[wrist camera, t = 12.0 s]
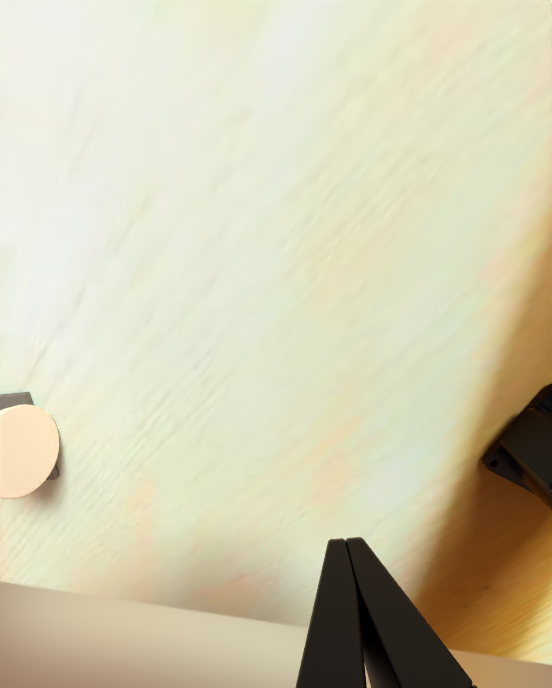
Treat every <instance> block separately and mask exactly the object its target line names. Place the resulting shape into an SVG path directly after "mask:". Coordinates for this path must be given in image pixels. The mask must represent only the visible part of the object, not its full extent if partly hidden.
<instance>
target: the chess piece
mask: <svg viewBox="0 0 552 688" xmlns="http://www.w3.org/2000/svg"><path fill="white" fill-rule="evenodd" d="M58 452H59V433H58V429H57V426H56V424H55V422H54V420H53V419H52V417H51V416H50V415H49V414H48V413H47V412H46V411H45V410H43V409H42V408H40V407H37V406H34V405H27V404H25V405H17V406H13V407H9V408H6V409H3V410H0V498H2V499H16V498H20V497H23V496H26V495H28V494H30V493H31V492H33V491H34V490H36V489H37V488H38V487H39V486H40V485H41V484H42V483H43V482H44V481H45V480H46V479H47V477H48V476H49V475H50V473H51V471H52V469H53V467H54V465H55V463H56V460H57V456H58Z"/></svg>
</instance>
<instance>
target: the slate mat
mask: <svg viewBox="0 0 552 688" xmlns="http://www.w3.org/2000/svg"><path fill="white" fill-rule="evenodd" d="M25 404H27V405H33V402H32V399H31V396H30V394H29V392H24V393H13V394H2V395H0V410H3V409H6V408H9V407H13V406H17V405H25ZM58 476H59V473H58V470H57V467H56V465H54V467H53V469H52V471H51V473H50V475H49V476H48V477H47V479H46V480H49V479H56V478H57V477H58Z"/></svg>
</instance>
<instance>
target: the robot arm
mask: <svg viewBox="0 0 552 688" xmlns="http://www.w3.org/2000/svg"><path fill="white" fill-rule="evenodd" d="M493 460H494V461H493ZM491 461H493V462H492V463H490V462H491ZM482 462H483V464H484V465H485V467H486V468H487V469H489V470H491V471H492V472H494V473H496V474H498V475H500V476H502V477H504V478H506V479H508V480H510V481H511V482H513V483H515V484H517V485H519V486H521V487H523V488H525V489H527V490H529V491H531V492H532V493H534V494H536V495H537V496H538V497H539V498H540V499H541V500H542V501H543V502H544V503H545V504H546V505H547V506H548V507H549V508H550V509H551V510H552V384H549V385H548V386H547V387H546V388H545V389H544V390H543V391H542V392H541V393H540V394H539V395H538V397H537V398H536V399H535V400H534V401H533V402H532V403H531V404H530V405H529V407H528V408H527V409H526V410H525V411H524V412H523V413H522V414H521V416H520V417H519V418H518V419H517V420H516V421H515V422H514V423H513V424H512V426H511V427H510V428H509V429H508V430H507V431H506V432H505V433H504V434H503V436H502V437H501V438H500V439H499V440H498V441H497V442H496V443H495V444H494V446H493V447H492V448H491V449H490V450H489V451H488V452H487V453H486V455H485V456H484V457H483V459H482ZM364 662H365V666H366V670H367V673H368V677H369V681H370V684H371V688H477V687H476V686H475V685H473V686H472V680H471V679H470V678H469V676H468V675H467V674H466V673H465V671H464V670H463V668H462V667H461V666H460V665H459V663H458V662H457V661H456V659H455V658H454V657H453V655H452V654H451V653H450V651H449V650H448V649H447V648H446V646H445V645H444V644H443V642H442V641H441V640H440V638H439V637H438V636H437V635H436V633H435V632H434V631H433V629H432V628H431V627H430V625H429V624H428V623H427V621H426V620H425V619H424V618H423V616H422V615H421V614H420V612H419V611H418V610H417V608H416V607H415V606H414V604H413V603H412V602H411V601H410V599H409V598H408V597H407V595H406V594H405V593H404V591H403V590H402V589H401V588H400V586H399V585H398V584H397V582H396V581H395V580H394V578H393V577H392V576H391V574H390V573H389V572H388V571H387V569H386V568H385V567H384V565H383V564H382V563H381V561H380V560H379V559H378V557H377V556H376V555H375V554H374V552H373V551H372V550H371V548H370V547H369V546H368V544H367V543H366V542H365V541H364V539H363V538H361V537H355V538H347V539H346V541H345V540H344V539H342V538H341V539H330V540H329V541H328V544H327V549H326V553H325V558H324V562H323V567H322V571H321V576H320V580H319V585H318V589H317V594H316V598H315V603H314V607H313V612H312V616H311V621H310V625H309V630H308V634H307V639H306V644H305V648H304V652H303V657H302V661H301V666H300V670H299V675H298V680H297V684H296V688H367V687H366V676H365V666H364Z"/></svg>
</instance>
